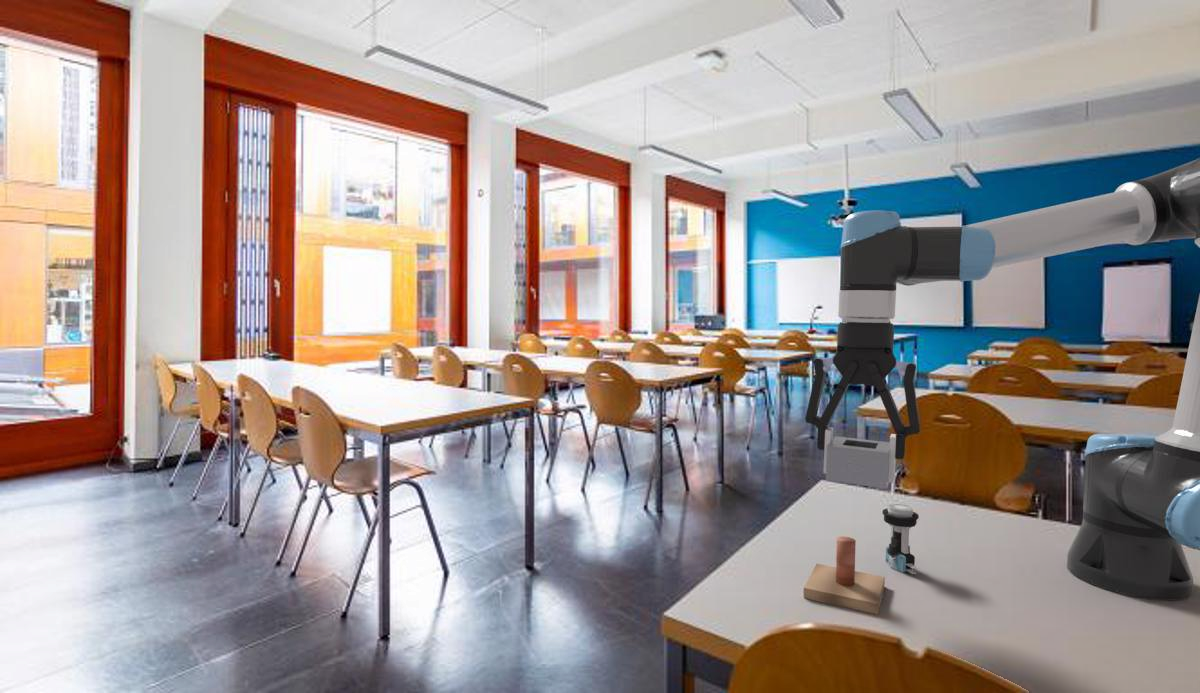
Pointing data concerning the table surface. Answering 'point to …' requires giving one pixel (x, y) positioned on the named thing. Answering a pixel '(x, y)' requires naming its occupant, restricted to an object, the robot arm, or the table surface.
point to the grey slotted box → (858, 462)
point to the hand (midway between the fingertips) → (858, 475)
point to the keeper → (845, 582)
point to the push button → (900, 536)
